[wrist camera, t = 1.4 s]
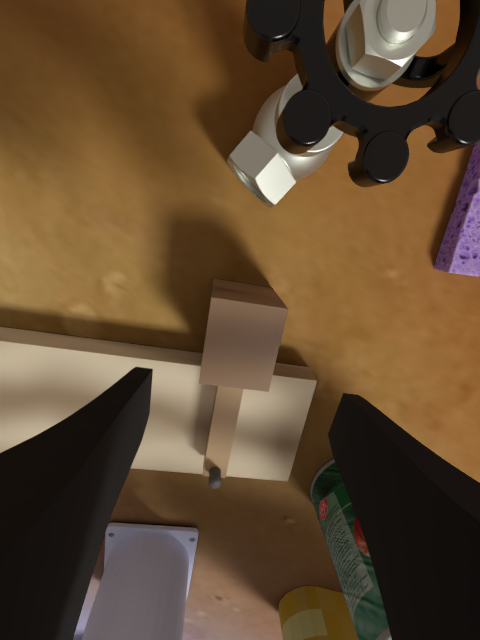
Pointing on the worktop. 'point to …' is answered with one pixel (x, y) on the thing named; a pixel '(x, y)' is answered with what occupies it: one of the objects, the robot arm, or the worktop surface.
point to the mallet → (237, 359)
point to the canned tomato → (349, 554)
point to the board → (165, 406)
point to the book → (315, 615)
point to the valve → (355, 89)
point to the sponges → (464, 225)
